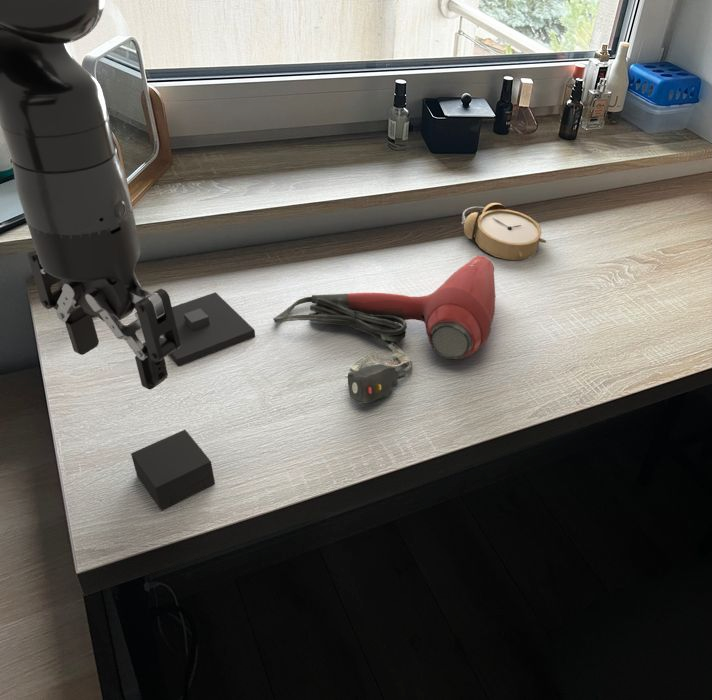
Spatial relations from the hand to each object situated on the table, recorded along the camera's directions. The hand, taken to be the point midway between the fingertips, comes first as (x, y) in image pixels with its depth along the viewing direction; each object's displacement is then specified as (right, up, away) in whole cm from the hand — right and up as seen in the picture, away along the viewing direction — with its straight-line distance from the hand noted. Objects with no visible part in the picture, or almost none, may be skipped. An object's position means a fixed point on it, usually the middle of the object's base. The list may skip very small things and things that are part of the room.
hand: (120, 366), depth 66 cm
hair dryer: (+23, +5, +38) cm, 45 cm away
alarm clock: (+37, +21, +60) cm, 74 cm away
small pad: (0, -13, +12) cm, 17 cm away
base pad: (-5, +4, +33) cm, 33 cm away
